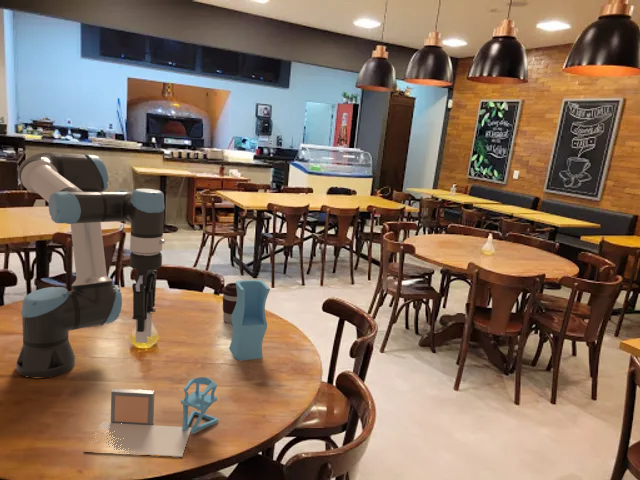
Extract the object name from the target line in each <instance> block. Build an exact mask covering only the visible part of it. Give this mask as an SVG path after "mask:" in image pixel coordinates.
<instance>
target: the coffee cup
mask: <svg viewBox="0 0 640 480" xmlns="http://www.w3.org/2000/svg"><path fill="white" fill-rule="evenodd" d="M221 294H223V295H222V313H223V314H222V315H223V319H222V320H223V322H225V323H227V324H231V325H232V319H231V316H232V313H233V311H234V309H235V306H236V303H237V288H236V282H230V283H227V284H226V285H225V286H223V287H222V288H221Z"/></svg>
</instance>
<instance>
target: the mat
mask: <svg viewBox="0 0 640 480" xmlns="http://www.w3.org/2000/svg"><path fill="white" fill-rule="evenodd" d="M101 423H102V422H101ZM101 423H100V425H99V427H101V426H102V427H101V428H102V429H103V428H104V429H105V428H106V430H107V427H108V430H109V433H110V432H111V434H109V433H108V432H107V433H108V434H109V436H110V435H111V437H112V435H113V437H115V438H113V437H112V438H113V439H114V440H115V439H116V438H117V439H116V440H115V441H114V440H113V439H111V441H112V440H113V443H114V442H115V443H114V444H113V443H112V442H111V443H112V444H113V445H114V448H115V447H116V450H117V449H118V448H120V447H121V448H120V449H121V450H122V449H123V448H124V449H123V450H125V449H126V450H125V451H128V450H129V451H128V452H129V453H130V454H131V453H132V454H134V453H135V454H145V455H146V454H147V455H160V456H173V457H172V458H179V457H182V458H183V456H184V454H183V453H185V451H184V450H186V448H185V447H187V445H186V444H188V442H187V441H189V439H188V438H190V436H191V433H190V432H191V428H192V427H193V426H192V427H189V426H188V428H187V429H186V430H185V431H183V430H182V427H183V426H172V425H171V426H170V425H155V424H152V425H139V424H121V423H111V422H103V423H102V424H101ZM105 425H106V426H105ZM103 426H104V427H103ZM99 427H98V428H97V430H98V429H99ZM109 427H110V428H109ZM101 428H100V429H101ZM106 430H105V431H106ZM108 430H107V431H108ZM103 431H104V430H103ZM114 431H115V432H114ZM112 432H113V433H112ZM95 433H96V432H95ZM95 433H94V434H95ZM107 433H106V434H107ZM96 434H97V433H96ZM96 434H95V435H96ZM104 434H105V433H104ZM104 434H103V435H104ZM101 435H102V434H101ZM189 435H190V436H189ZM107 436H108V435H107ZM107 436H106V437H107ZM104 437H105V436H104ZM111 437H110V438H111ZM95 438H96V437H95ZM118 438H119V439H118ZM123 438H124V439H123ZM107 439H108V438H107ZM120 439H121V440H120ZM96 441H97V440H96ZM109 441H110V440H109ZM109 441H108V443H109ZM117 441H118V442H117ZM94 442H95V441H94ZM91 443H92V442H91ZM106 443H107V442H106ZM111 443H110V444H111ZM116 444H117V445H116ZM121 444H122V445H121ZM108 445H109V444H108ZM113 445H112V446H113ZM115 445H116V446H115ZM120 445H121V446H120ZM118 446H119V447H118ZM109 447H110V446H109ZM128 448H129V449H128ZM120 449H118V450H120ZM114 450H115V449H114ZM125 451H124V453H125ZM131 451H132V452H131ZM134 451H135V452H134ZM128 452H126V453H128ZM133 452H134V453H133ZM140 452H141V453H140ZM119 453H120V452H119ZM122 453H123V452H122Z"/></svg>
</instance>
